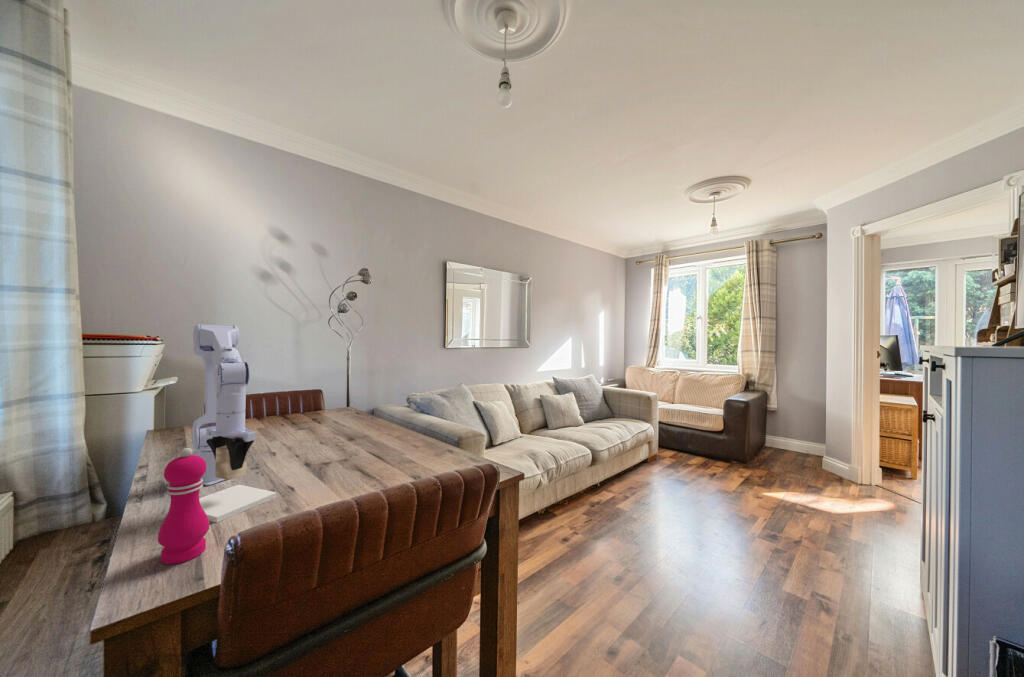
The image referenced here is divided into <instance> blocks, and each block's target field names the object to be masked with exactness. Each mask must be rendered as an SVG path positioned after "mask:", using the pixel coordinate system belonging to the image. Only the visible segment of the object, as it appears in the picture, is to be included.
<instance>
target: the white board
mask: <svg viewBox="0 0 1024 677" xmlns="http://www.w3.org/2000/svg"><path fill="white" fill-rule="evenodd" d="M277 495H278V493H277V492H276V491H272V490H268V489H262V488H257V487H252V486H249V485H243V484H236V485H233V486H231V487H228V488H224V489H222V490H220V491H216V492H212V493H210V494H208V495H205V496H202V497H199V501H200V504H201V507H202V509H203V510H204V512H205V513H206V515H207V517H208V519H209V522H212V523H220V522H223V521H224V520H226V519H227V520H228V519H229V518H232V517H234V516H236V515H238V514H241V513H243V512H245V511H247V510H250V509H252V508H255V507H257V506H259V505H261V504H264V503H266V502H268V501H271V500H275V499H277V497H278V496H277Z"/></svg>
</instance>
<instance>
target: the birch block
mask: <svg viewBox="0 0 1024 677" xmlns="http://www.w3.org/2000/svg"><path fill="white" fill-rule="evenodd" d="M247 465H248V453H247V454H246V457H245V460H244V463H243V466H242V468H240V469H236V470H232V469H231V465H230V456H229V452H228V449H227V447H226V446H223V447H219V448H216V466H215V477H216V478H221V479H226V480H225V481H228V480H233V479H234V478H238V477H241V476H244V475H247V472H248V471H247V468H248V466H247Z"/></svg>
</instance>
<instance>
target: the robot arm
mask: <svg viewBox="0 0 1024 677" xmlns="http://www.w3.org/2000/svg"><path fill="white" fill-rule="evenodd" d="M192 332H193V334H192V338H193V339H192V340H193V345H192V346H193V351H194V355H196V356H199V357H201V358H202V361H203V364H204V414H203V415H201V416H200V417H198V418H196V419H195V420H194V422H193V423H192V430H191V448H192V449H194V451H192V454H191V455H196V456H200V457H202V458H203V459H204V460H205V462H206V466H207V468H206V472H205V473H204V475H203V476H202V477H201V479H203V482H202V484H203V486H211V485H214V484H217V483H220V482H223V481H227V480H226V479H221V478H216V477H215V466H216V448H219V447H223V446H226V447H227V449H228V452H229V456H230V465H231V469H232V470H236V469H240V468H242V466H243V463H244V460H245V457H246V454H247V455H248V453H249V452H248V451H249V449H250V448H251V447H252V444H253V443H254V442H255V440H256V431H254V430H253V431H252V430H250V429H249V428H247V427H246V408H247V407H246V405H247V404H246V401H247V400H246V397H247V395H246V394H247V386H248V384H249V381H250V376H251V375H250V374H251V372H250V365H249V363H248V361H246V360H244V361H243V360H242V357H241V353H240V351H239V350H238V349H237V346H238V344H239V342H240V341H239V340H240V330H239V327H238V326H237V325H235V324H233V325H221V324H219V325H218V324H217V325H216V324H200V323H197V324H195V325H194V326H193V331H192Z"/></svg>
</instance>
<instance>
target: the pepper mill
mask: <svg viewBox="0 0 1024 677" xmlns="http://www.w3.org/2000/svg"><path fill="white" fill-rule="evenodd" d="M192 453H193V448H192V447H183V448H182V449H181V450H180V451H179V456H178V457H176V458H174V459H172V460H171V461H169V462H168V463H167V464H166V466H165V467H164V471H163V477H164V480H165V481H166V482H168V483H169V484H168V485H167V486H166V488H167V491H166V493H167V494H168V495H169V496H170V504H169V505H170V506H169V509H168V511H167V514H166V516H165V518H164V520H163V521H162V523H161V525H160V527H159V531H158V534H157V542H158V544H159V545H160V546H161V547H163V548H162V549H161V552H160V562H161V563H162V564H166V565H177V564H180V563H184V562H188V561H190V560H193V559H195V558H197V557H199V556H200V555H202V554H203V553H204V552H205V551H206V549H207V546H206V544H207V541H206V538H205V536H206V534H207V533H208V531H209V530H210V521H209V519H208V517H207V515H206V513H205V512H204V510H203V509H202V507H201V504H200V501H199V498H200V491H201V489H202V488H203V486H204V485H203V484H202V482H203V479H201V477H202V476H203V475H204V473H205V472H206V468H207V466H206V462H205V460H204V459H203V458H202V457H200V456H196V455H192Z"/></svg>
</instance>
